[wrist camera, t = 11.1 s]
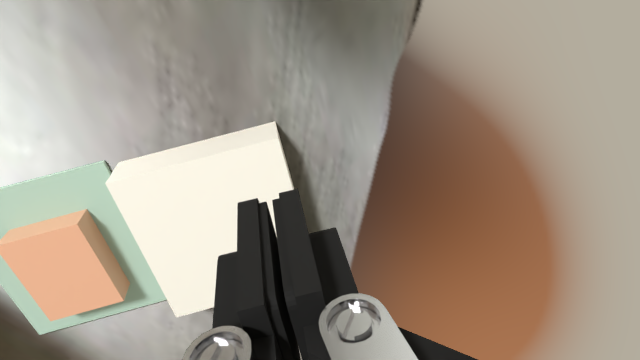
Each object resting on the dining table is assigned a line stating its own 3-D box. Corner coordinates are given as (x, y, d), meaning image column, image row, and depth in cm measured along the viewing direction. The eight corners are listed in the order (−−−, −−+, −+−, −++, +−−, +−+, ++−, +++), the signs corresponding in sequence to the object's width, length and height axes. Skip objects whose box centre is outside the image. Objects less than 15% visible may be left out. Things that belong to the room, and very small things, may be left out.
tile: (77, 224, 35) (86, 208, 37) (-6, 246, 35) (9, 229, 37) (123, 301, 39) (130, 283, 42) (50, 321, 39) (60, 302, 41)
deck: (118, 162, 36) (105, 183, 33) (275, 121, 37) (278, 137, 33) (182, 289, 43) (176, 317, 40) (312, 253, 44) (318, 278, 40)
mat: (-58, 202, 36) (-61, 205, 35) (104, 160, 36) (103, 162, 36) (41, 331, 43) (39, 334, 43) (174, 295, 44) (173, 297, 43)
